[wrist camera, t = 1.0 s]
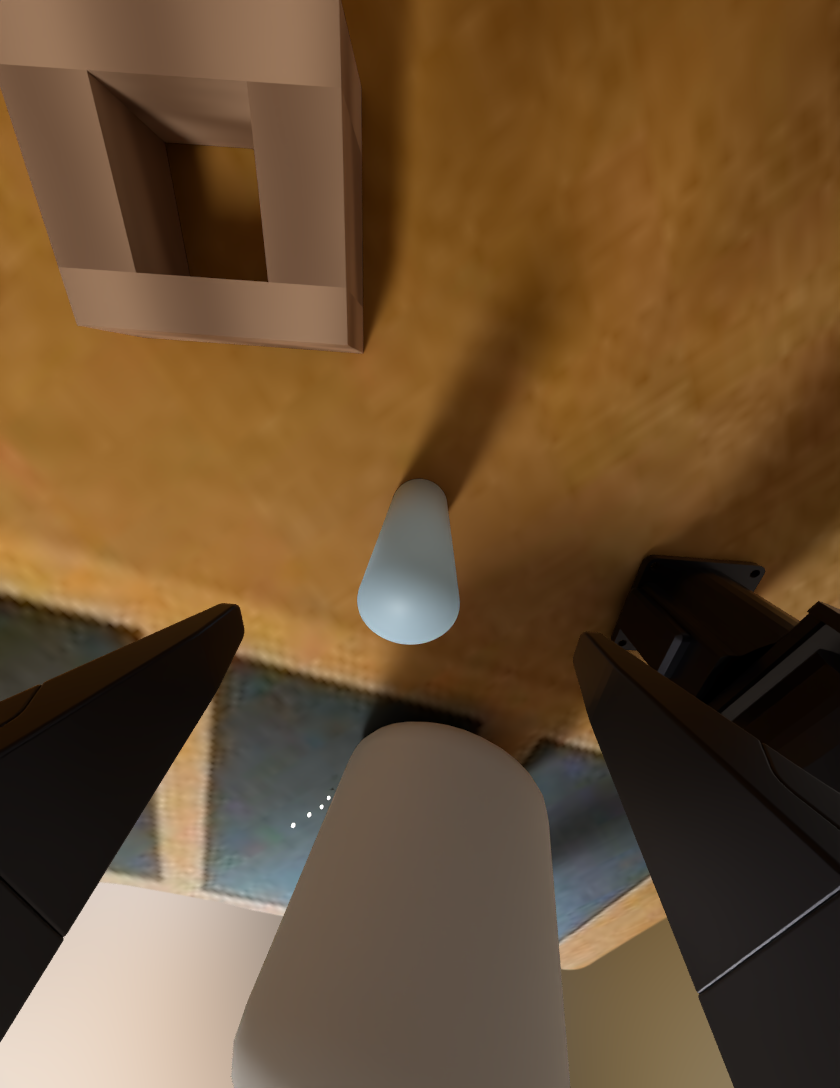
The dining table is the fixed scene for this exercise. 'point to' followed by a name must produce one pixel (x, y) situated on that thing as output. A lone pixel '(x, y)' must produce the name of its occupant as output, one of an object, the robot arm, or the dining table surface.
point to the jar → (416, 930)
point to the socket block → (201, 119)
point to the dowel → (412, 569)
